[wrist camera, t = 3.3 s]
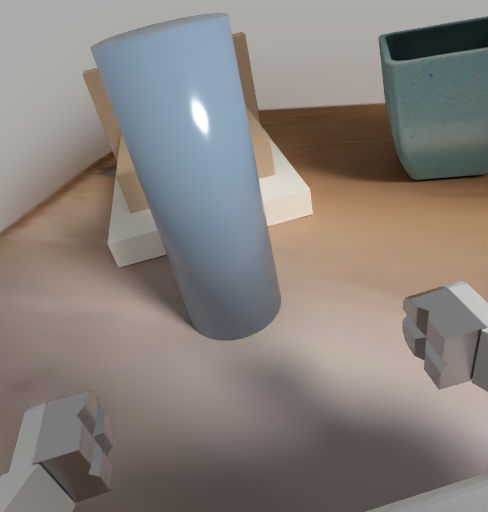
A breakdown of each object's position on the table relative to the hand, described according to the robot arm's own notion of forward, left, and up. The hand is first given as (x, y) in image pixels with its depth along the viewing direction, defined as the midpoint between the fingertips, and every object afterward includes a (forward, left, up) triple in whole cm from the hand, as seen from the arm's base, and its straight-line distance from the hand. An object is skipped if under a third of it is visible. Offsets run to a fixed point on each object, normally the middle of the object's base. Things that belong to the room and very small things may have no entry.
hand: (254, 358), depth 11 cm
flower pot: (-18, -20, -8) cm, 28 cm away
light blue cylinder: (0, -11, -8) cm, 13 cm away
